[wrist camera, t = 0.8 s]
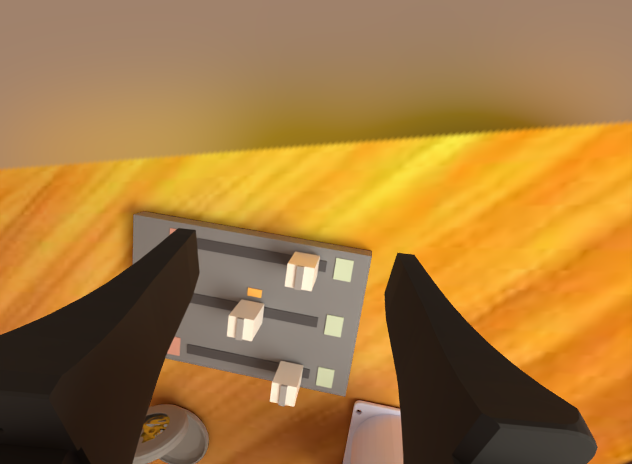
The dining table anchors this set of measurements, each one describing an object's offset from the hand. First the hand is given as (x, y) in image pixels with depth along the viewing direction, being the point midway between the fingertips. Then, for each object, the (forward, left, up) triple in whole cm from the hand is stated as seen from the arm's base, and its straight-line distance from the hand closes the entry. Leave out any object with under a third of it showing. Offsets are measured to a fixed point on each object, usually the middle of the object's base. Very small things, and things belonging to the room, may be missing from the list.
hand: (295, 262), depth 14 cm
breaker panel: (-11, +6, -17) cm, 21 cm away
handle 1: (-6, +1, -16) cm, 17 cm away
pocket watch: (-25, +12, -18) cm, 33 cm away
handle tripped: (-11, +5, -16) cm, 20 cm away
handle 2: (-16, +1, -16) cm, 22 cm away
